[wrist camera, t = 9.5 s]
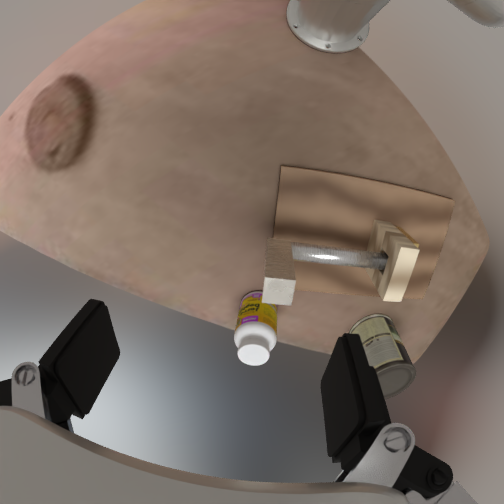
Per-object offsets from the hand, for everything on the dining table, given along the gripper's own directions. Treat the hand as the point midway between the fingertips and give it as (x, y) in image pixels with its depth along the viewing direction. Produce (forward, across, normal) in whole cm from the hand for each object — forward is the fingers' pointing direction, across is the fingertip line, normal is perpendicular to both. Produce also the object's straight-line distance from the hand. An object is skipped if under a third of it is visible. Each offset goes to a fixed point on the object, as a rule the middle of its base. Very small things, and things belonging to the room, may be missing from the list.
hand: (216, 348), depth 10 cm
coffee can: (+34, -26, +27) cm, 50 cm away
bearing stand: (+33, -19, +7) cm, 39 cm away
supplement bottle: (+34, -2, +22) cm, 40 cm away
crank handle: (+26, -11, +7) cm, 30 cm away
